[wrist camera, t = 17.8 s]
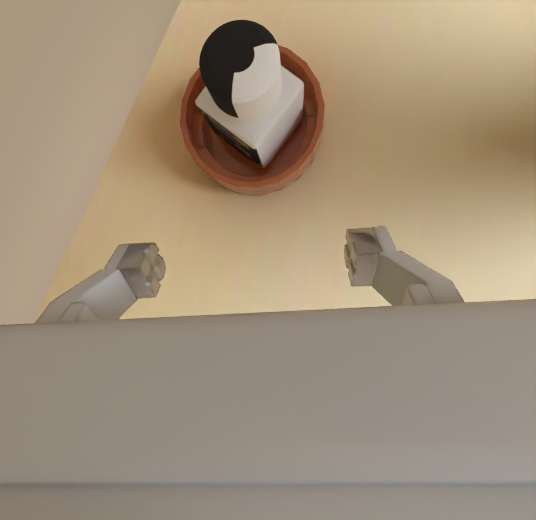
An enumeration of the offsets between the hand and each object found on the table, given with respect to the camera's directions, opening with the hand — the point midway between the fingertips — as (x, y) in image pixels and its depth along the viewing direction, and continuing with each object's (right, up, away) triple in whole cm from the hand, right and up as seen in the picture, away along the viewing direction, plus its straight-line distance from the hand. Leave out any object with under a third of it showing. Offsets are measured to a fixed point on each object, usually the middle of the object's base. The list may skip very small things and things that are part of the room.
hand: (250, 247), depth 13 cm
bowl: (-1, +14, +21) cm, 25 cm away
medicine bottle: (0, +14, +21) cm, 25 cm away
